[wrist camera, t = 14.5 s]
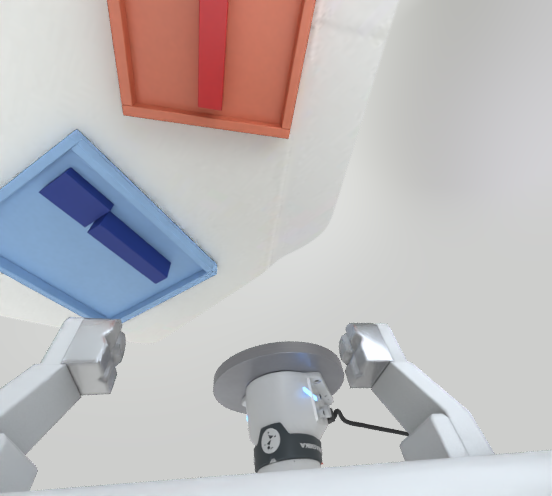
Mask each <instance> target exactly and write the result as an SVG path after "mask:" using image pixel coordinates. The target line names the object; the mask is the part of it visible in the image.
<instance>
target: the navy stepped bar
mask: <svg viewBox="0 0 552 496" xmlns="http://www.w3.org/2000/svg"><path fill="white" fill-rule="evenodd" d="M39 193H40V194H41V195H43V196H44V197H45V198H46V199H48V200H49V201H50V202H52V203H53V204H54V205H56V206H57V207H58V208H60V209H61V210H62V211H64V212H65V213H66V214H68V215H69V216H70V217H72V218H73V219H74V220H75V221H77V222H78V223H79V224H81V225H82V226H83V227H87V226H88V225H90V224H91V223H93V222H94V223H93V224H92V226H91V227H90V229H89V230H88V232H87V233H88V234H90V235H91V236H92V237H94V238H95V239H96V240H98V241H99V242H100V243H102V244H103V245H104V246H106V247H107V248H108V249H110V250H111V251H112V252H114V253H115V254H116V255H117V256H119V257H120V258H121V259H123V260H124V261H125V262H127V263H128V264H129V265H131V266H132V267H133V268H135V269H136V270H137V271H139V272H140V273H141V274H143V275H144V276H145V277H147V278H148V279H149V280H151V281H152V282H153V283H155V284H157V283H159V282H161V281H162V280H164V279H166V278H167V277H168V273H169V269H170V265H171V262H170V261H168V260H167V259H166V258H165V257H164V256H163V255H161V254H160V253H159V252H158V251H157V250H155V249H154V248H153V247H152V246H151V245H150V244H148V243H147V242H146V241H145V240H144V239H142V238H141V237H140V236H139V235H138V234H137V233H135V232H134V231H133V230H132V229H131V228H129V227H128V226H127V225H126V224H125V223H124V222H122V221H121V220H120V219H119V218H118V217H116V216H115V215H114V214H113V213H112V212H111V209H112V207H113V206H114V204H113V203H112V202H111V201H109V200H108V199H107V198H106V197H105V196H104V195H102V194H101V193H100V192H99V191H98V190H97V189H96V188H94V187H93V186H92V185H91V184H90V183H89V182H88V181H86V180H85V179H84V178H83V177H82V176H81V175H79V174H78V173H77V172H76V171H75V170H74V169H73V168H71V167H70V168H69V169H67V170H66V171H65V172H63V173H62V174H61V175H59V176H58V177H56V178H55V179H54V180H52V181H51V182H50V183H48V184H47V185H46V186H45V187H43V188H42V189H41V190H40V191H39Z"/></svg>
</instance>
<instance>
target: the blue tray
mask: <svg viewBox="0 0 552 496" xmlns="http://www.w3.org/2000/svg"><path fill="white" fill-rule="evenodd" d="M70 167H71V168H73V169H74V170H75V171H76V172H77V173H78V174H79V175H81V176H82V177H83V178H84V179H85V180H86V181H88V182H89V183H90V184H91V185H92V186H93V187H94V188H96V189H97V190H98V191H99V192H100V193H101V194H102V195H104V196H105V197H106V198H107V199H108V200H109V201H111V202H112V203H113V204H114V206H113V207H112V209H111V212H112V213H113V214H114V215H115V216H116V217H118V218H119V219H120V220H121V221H122V222H124V223H125V224H126V225H127V226H128V227H129V228H131V229H132V230H133V231H134V232H135V233H137V234H138V235H139V236H140V237H141V238H142V239H144V240H145V241H146V242H147V243H148V244H150V245H151V246H152V247H153V248H154V249H155V250H157V251H158V252H159V253H160V254H161V255H163V256H164V257H165V258H166V259H167V260H168V261H170V262H171V265H170V269H169V273H168V277H167V278H166V279H164V280H162V281H161V282H159V283H157V284H155V283H153V282H152V281H151V280H149V279H148V278H147V277H145V276H144V275H143V274H141V273H140V272H139V271H137V270H136V269H135V268H133V267H132V266H131V265H129V264H128V263H127V262H125V261H124V260H123V259H121V258H120V257H119V256H117V255H116V254H115V253H114V252H112V251H111V250H110V249H108V248H107V247H106V246H104V245H103V244H102V243H100V242H99V241H98V240H96V239H95V238H94V237H92V236H91V235H90V234H88V233H87V232H88V230H89V229H90V227H91V226H92V224H93V223H94V222H93V223H91V224H90V225H88V226H87V227H83V226H82V225H81V224H79V223H78V222H77V221H75V220H74V219H73V218H72V217H70V216H69V215H68V214H66V213H65V212H64V211H62V210H61V209H60V208H58V207H57V206H56V205H54V204H53V203H52V202H50V201H49V200H48V199H46V198H45V197H44V196H43V195H41V194H40V193H39V191H40V190H41V189H42V188H43V187H45V186H46V185H47V184H48V183H50V182H51V181H52V180H54V179H55V178H56V177H58V176H59V175H61V174H62V173H63V172H65V171H66V170H67V169H69V168H70ZM0 272H2V273H3V274H5V275H7V276H9V277H11V278H12V279H14V280H16V281H18V282H20V283H22V284H23V285H25V286H27V287H29V288H31V289H32V290H34V291H36V292H38V293H40V294H42V295H43V296H45V297H47V298H49V299H51V300H52V301H54V302H56V303H58V304H60V305H62V306H63V307H65V308H67V309H69V310H71V311H72V312H74V313H76V314H78V315H80V316H82V317H83V318H103V319H121V322H122V323H123V322H125V321H127V320H129V319H131V318H133V317H135V316H137V315H139V314H141V313H143V312H145V311H147V310H149V309H150V308H152V307H154V306H156V305H158V304H160V303H162V302H164V301H166V300H168V299H170V298H172V297H174V296H176V295H178V294H179V293H181V292H183V291H185V290H187V289H189V288H191V287H193V286H195V285H197V284H199V283H201V282H203V281H205V280H206V279H208V278H210V277H212V276H214V275H216V274H217V264H216V263H215V262H214V261H213V260H212V259H211V258H210V257H209V256H208V255H206V254H205V253H204V252H203V251H202V250H201V249H200V248H199V247H198V246H197V245H196V244H195V243H194V242H193V241H192V240H191V239H190V238H189V237H188V236H187V235H186V234H185V233H184V232H183V231H182V230H181V229H180V228H179V227H178V226H177V225H176V224H174V223H173V222H172V221H171V220H170V219H169V218H168V217H167V216H166V215H165V214H164V213H163V212H162V211H161V210H160V209H159V208H158V207H157V206H156V205H155V204H154V203H153V202H152V201H151V200H150V199H149V198H148V197H147V196H146V195H145V194H144V193H142V192H141V191H140V190H139V189H138V188H137V187H136V186H135V185H134V184H133V183H132V182H131V181H130V180H129V179H128V178H127V177H126V176H125V175H124V174H123V173H122V172H121V171H120V170H119V169H118V168H117V167H116V166H115V165H114V164H113V163H111V162H110V161H109V160H108V159H107V158H106V157H105V156H104V155H103V154H102V153H101V152H100V151H99V150H98V149H97V148H96V147H95V146H94V145H93V144H92V143H91V142H90V141H89V140H88V139H87V138H86V137H85V136H84V135H83V134H82V133H81V132H79V131H78V130H77V129H76V130H75V131H73V132H72V133H71V134H70V135H68V136H67V137H66V138H64V139H63V140H62V141H61V142H59V143H58V144H57V145H56V146H54V147H53V148H52V149H51V150H49V151H48V152H47V153H45V154H44V155H43V156H42V157H40V158H39V159H38V160H37V161H35V162H34V163H33V164H32V165H30V166H29V167H28V168H26V169H25V170H24V171H23V172H21V173H20V174H19V175H18V176H16V177H15V178H14V179H13V180H11V181H10V182H9V183H8V184H6V185H5V186H4V187H2V188H1V189H0Z"/></svg>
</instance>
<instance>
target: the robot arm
mask: <svg viewBox="0 0 552 496" xmlns="http://www.w3.org/2000/svg"><path fill="white" fill-rule="evenodd" d="M121 328H122V322H121V319H103V318H76V317H69V318H68V319H67V320H66V321H64V323H63V324H62V326H61V328H60V330H59V332H58V333H57V335H56V337H55V338H54V340H53V342H52V344H51V345H50V347H49V349H48V350H47V352H46V354H45V356H44V357H43V359H42V361H41V363H40V364H34V365H33V366H31V367H30V368H28V369H27V370H26V371H24V372H23V373H22V374H20V375H19V376H17V377H16V378H15V379H13V380H12V381H10V382H9V383H7V384H6V385H5V386H3V387H2V388H1V389H0V496H552V450H545V451H531V452H519V453H506V454H495V453H494V452H493V450H492V448H491V447H490V445H489V444H488V442H487V440H486V438H485V437H484V435H483V433H482V432H481V430H480V428H479V427H478V425H477V423H476V421H475V420H474V418H473V417H472V415H471V413H470V411H468V410H467V409H466V408H465V407H463V406H462V405H461V404H460V403H459V402H458V401H457V400H455V399H454V398H453V397H452V396H450V394H448V393H447V392H446V391H445V390H444V389H442V388H441V387H440V386H439V385H438V384H437V383H435V382H434V381H433V380H432V379H431V378H429V377H428V376H427V375H426V374H425V373H424V372H422V371H421V370H420V369H419V368H418V367H416V366H415V365H414V364H413V363H412V362H407V360H406V358H405V356H404V354H403V352H402V350H401V348H400V346H399V344H398V342H397V341H396V338H395V337H394V335H393V333H392V331H391V329H390V327H389V326H388V325H387V324H373V323H349V324H348V325H347V327H346V332H347V333H346V334H344V335H343V336H342V337H341V339H340V342H339V352H340V356H341V360H342V361H343V362H344V363H345V364H346V365H347V367H346V370H345V373H346V376H347V379H348V382H349V385H350V388H372V389H371V390H372V391H373V392H374V393H375V395H376V396H377V397H378V398H379V399H380V400H381V402H382V403H383V404H384V405H385V406H386V408H388V410H389V411H390V412H391V413H392V415H393V416H394V417H395V418H396V419H397V420H398V422H399V423H400V424H401V425H402V426H403V428H404V429H405V430H406V431H407V432H404V431H399V430H394V429H389V428H384V427H379V426H374V425H368V424H364V423H359V422H353V421H349V420H347V419H345V418H344V416H343V415H342V413H341V411H340V410H339V409H335V410H334V413H333V411H332V409H331V408H330V407H329V405H331V404H332V403H333V402H334V401H333V397H332V395H331V393H330V391H329V389H328V387H327V385H326V383H325V381H324V379H323V377H322V376H321V374H320V373H319V372H306V373H303V372H295V371H282V372H274V373H270V374H266V375H263V376H261V377H259V378H257V379H255V380H253V381H252V382H251V383H250V384H249V385H248V386H247V388H246V395H245V396H244V397H243V398H242V406H244V407H246V411H247V421H248V431H249V438H250V441H251V442H252V443H253V444H254V445H255V448H254V465H255V472H256V473H251V474H238V475H225V476H214V477H200V478H187V479H176V480H162V481H150V482H136V483H123V484H111V485H98V486H85V487H72V488H60V489H48V490H35V491H30V488H31V486H32V484H33V481H34V479H35V477H36V474H37V472H38V470H37V468H36V466H35V465H34V464H33V463H32V462H31V461H30V460H29V459H28V458H27V457H26V456H25V455H26V454H27V452H28V451H29V450H30V449H31V448H32V447H33V446H34V445H35V444H36V443H37V442H38V441H39V440H40V439H41V438H42V437H43V436H44V435H45V434H46V433H47V432H48V431H49V430H50V429H51V428H52V426H54V425H55V424H56V423H57V422H58V420H59V419H61V417H62V416H63V415H64V414H65V413H66V412H67V411H68V410H69V409H70V408H71V407H72V406H73V405H74V404H75V403H76V402H77V401H78V400H79V399H80V398H81V395H97V394H110V393H111V390H112V388H113V385H114V381H115V379H116V376H117V372H116V368H115V366H117V365H118V364H119V363H120V362H121V361H122V358H123V355H124V351H125V345H126V344H125V343H126V342H125V334H124V333H123V332H121ZM337 414H338V415H339V417H340V419H341V420H342V421H343V422H344V423H346V424H349V425H352V426H358V427H364V428H368V429H374V430H379V431H384V432H390V433H395V434H400V435H405V436H408V437H407V438H406V439H404V440H403V441H402V442H401V444H400V449H401V451H402V454H403V457H404V459H405V461H404V462H391V463H378V464H366V465H353V466H340V467H328V468H321V466H320V465H321V464H323V463H322V449H321V442H320V439H321V437H322V435H323V433H324V432H325V430H326V428H327V426H328V424H330V423H332V422H334V421H335V419H336V417H337Z"/></svg>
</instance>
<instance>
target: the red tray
mask: <svg viewBox="0 0 552 496" xmlns="http://www.w3.org/2000/svg"><path fill="white" fill-rule="evenodd" d="M315 2H316V0H229V10H228V26H227V43H226V60H225V76H224V93H223V105H222V111H219V110H213V109H207V108H200V107H198V48H199V0H107V4H108V11H109V18H110V25H111V32H112V39H113V46H114V53H115V60H116V67H117V74H118V81H119V88H120V95H121V102H122V104H123V105H122V109H123V115H126V116H132V117H139V118H146V119H153V120H160V121H167V122H174V123H181V124H188V125H195V126H202V127H209V128H216V129H223V130H230V131H237V132H244V133H251V134H258V135H265V136H272V137H279V138H286V139H288V138H289V133H290V128H291V123H292V118H293V113H294V108H295V103H296V98H297V93H298V88H299V83H300V78H301V72H302V67H303V62H304V57H305V52H306V47H307V42H308V37H309V32H310V27H311V22H312V17H313V12H314V7H315Z"/></svg>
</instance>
